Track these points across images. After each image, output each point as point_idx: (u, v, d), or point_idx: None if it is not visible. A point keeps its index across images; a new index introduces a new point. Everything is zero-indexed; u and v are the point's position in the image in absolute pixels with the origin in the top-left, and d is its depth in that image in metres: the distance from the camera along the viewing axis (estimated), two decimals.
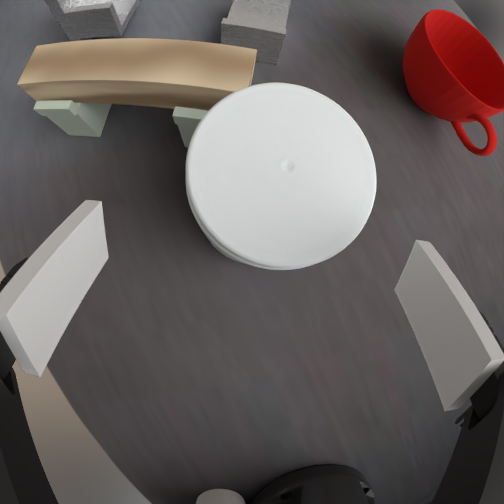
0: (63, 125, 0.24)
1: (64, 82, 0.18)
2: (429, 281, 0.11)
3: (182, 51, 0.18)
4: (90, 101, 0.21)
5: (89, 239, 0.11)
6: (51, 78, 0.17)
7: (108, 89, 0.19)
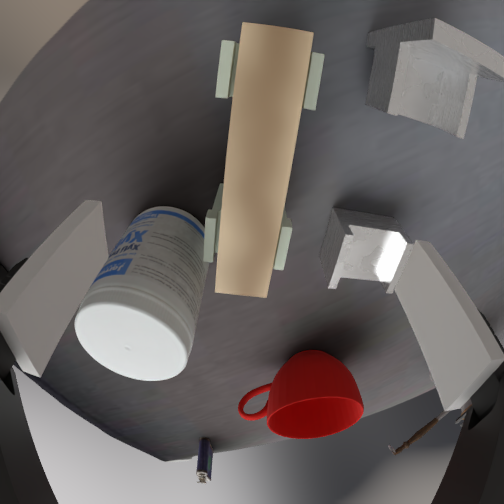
0: None
1: (232, 104, 0.17)
2: (429, 281, 0.11)
3: (261, 240, 0.22)
4: None
5: (89, 239, 0.11)
6: (238, 84, 0.16)
7: None
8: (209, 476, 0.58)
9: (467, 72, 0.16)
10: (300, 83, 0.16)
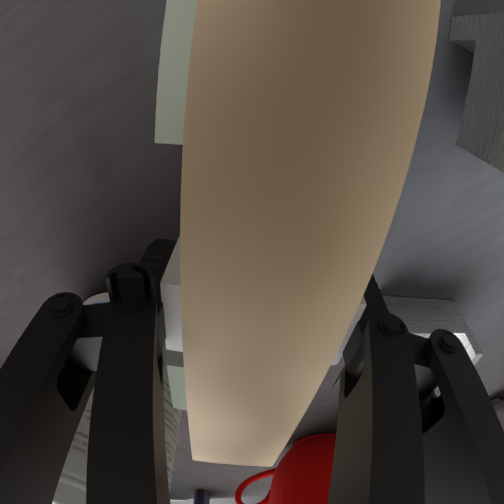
0: None
1: (184, 183, 0.06)
2: None
3: (266, 427, 0.10)
4: None
5: None
6: (198, 117, 0.05)
7: None
8: None
9: None
10: (405, 121, 0.05)
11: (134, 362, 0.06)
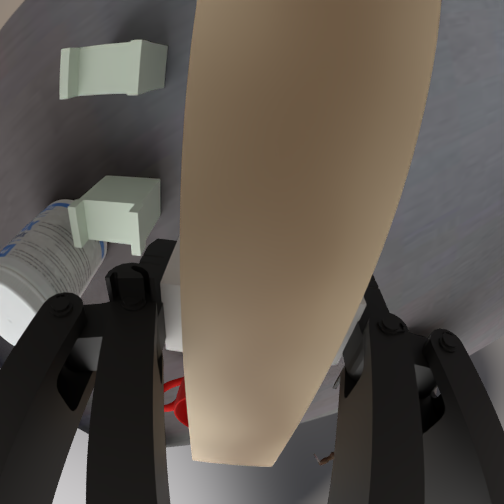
0: None
1: (183, 182, 0.06)
2: None
3: (266, 428, 0.10)
4: None
5: None
6: (197, 116, 0.05)
7: None
8: None
9: None
10: (406, 121, 0.05)
11: (134, 362, 0.06)
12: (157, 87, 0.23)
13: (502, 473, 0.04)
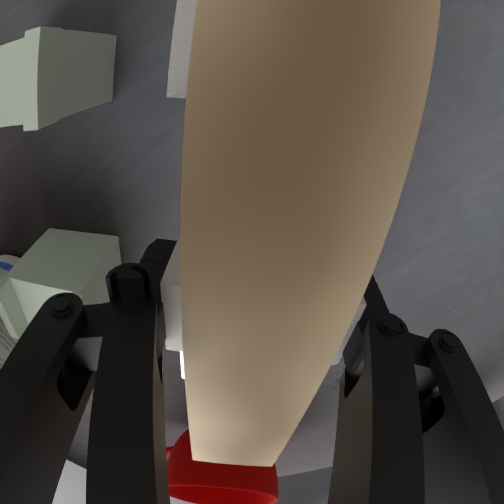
0: None
1: (184, 182, 0.06)
2: None
3: (266, 427, 0.10)
4: None
5: None
6: (198, 116, 0.05)
7: None
8: None
9: None
10: (406, 120, 0.05)
11: (134, 362, 0.06)
12: (96, 103, 0.13)
13: (502, 473, 0.04)
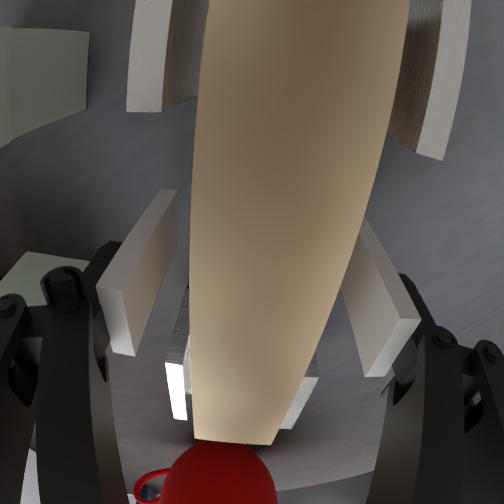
0: None
1: (195, 161, 0.07)
2: (355, 249, 0.12)
3: (265, 399, 0.11)
4: None
5: (169, 225, 0.12)
6: (208, 107, 0.06)
7: None
8: None
9: None
10: (378, 109, 0.06)
11: (71, 362, 0.05)
12: (63, 114, 0.11)
13: None
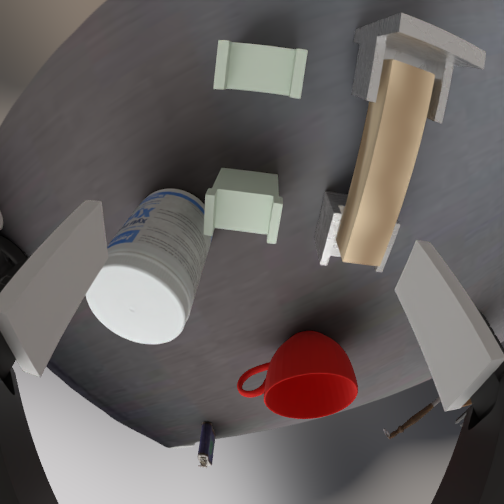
0: None
1: (380, 117, 0.22)
2: (428, 281, 0.11)
3: (385, 219, 0.27)
4: (366, 121, 0.25)
5: (89, 239, 0.11)
6: (387, 104, 0.21)
7: (367, 154, 0.25)
8: (210, 460, 0.61)
9: (443, 62, 0.18)
10: (425, 109, 0.21)
11: None
12: None
13: None
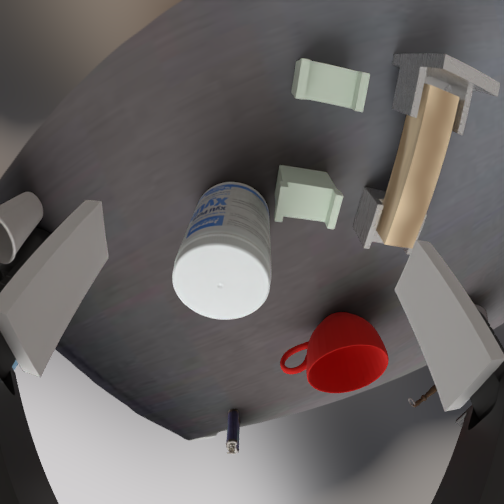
0: (298, 67, 0.28)
1: (419, 129, 0.27)
2: (429, 281, 0.11)
3: (419, 209, 0.32)
4: (403, 131, 0.30)
5: (89, 239, 0.11)
6: (424, 119, 0.26)
7: (406, 157, 0.30)
8: (237, 447, 0.66)
9: (465, 87, 0.24)
10: (451, 124, 0.26)
11: None
12: None
13: None
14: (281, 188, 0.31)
